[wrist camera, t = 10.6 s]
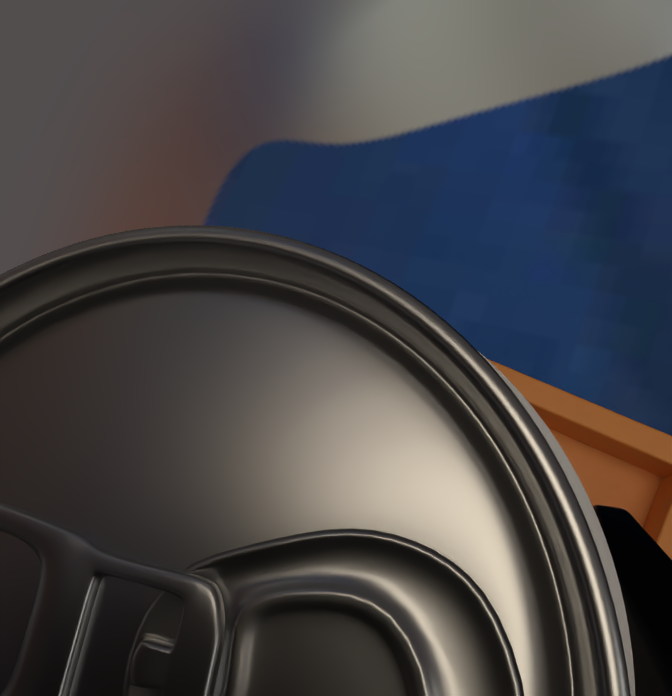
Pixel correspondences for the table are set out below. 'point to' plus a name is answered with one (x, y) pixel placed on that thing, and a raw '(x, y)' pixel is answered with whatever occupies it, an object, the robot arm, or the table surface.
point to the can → (279, 487)
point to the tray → (608, 454)
